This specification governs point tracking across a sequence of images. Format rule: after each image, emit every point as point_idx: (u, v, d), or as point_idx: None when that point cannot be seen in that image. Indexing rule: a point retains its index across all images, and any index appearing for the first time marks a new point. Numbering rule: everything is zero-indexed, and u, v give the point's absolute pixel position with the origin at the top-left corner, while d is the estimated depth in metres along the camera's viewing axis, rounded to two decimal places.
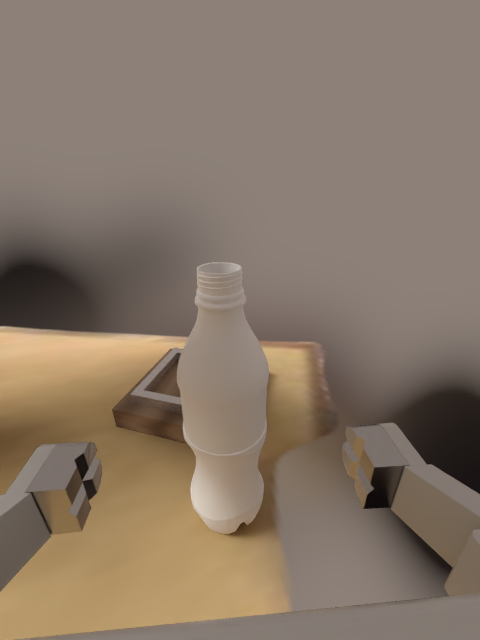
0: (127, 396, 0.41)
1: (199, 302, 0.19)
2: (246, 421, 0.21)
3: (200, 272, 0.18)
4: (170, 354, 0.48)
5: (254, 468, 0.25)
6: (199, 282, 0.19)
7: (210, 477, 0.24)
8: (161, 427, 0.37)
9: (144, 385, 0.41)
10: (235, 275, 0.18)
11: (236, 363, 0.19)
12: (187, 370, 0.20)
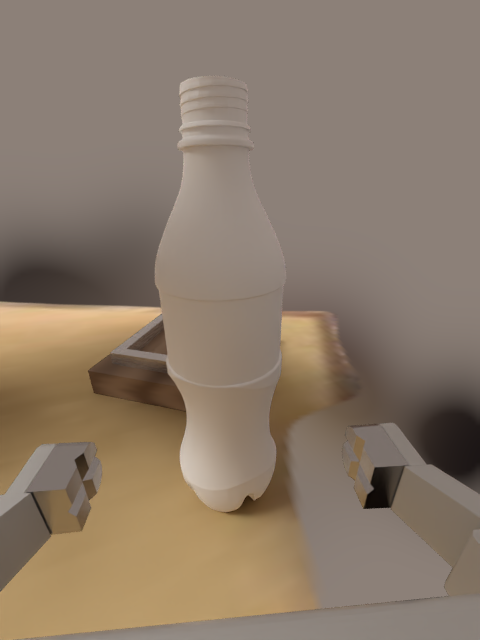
0: (107, 358, 0.34)
1: (183, 139, 0.13)
2: (255, 333, 0.14)
3: (184, 82, 0.12)
4: (161, 316, 0.41)
5: (265, 416, 0.18)
6: (183, 104, 0.12)
7: (204, 428, 0.17)
8: (147, 390, 0.30)
9: (128, 344, 0.34)
10: (238, 85, 0.12)
11: (241, 234, 0.13)
12: (167, 251, 0.14)
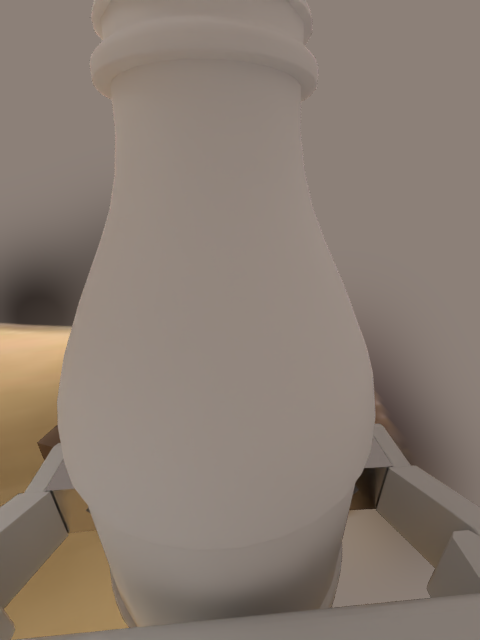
0: None
1: (99, 44, 0.04)
2: (308, 571, 0.06)
3: None
4: None
5: None
6: None
7: None
8: None
9: None
10: None
11: (285, 352, 0.04)
12: (69, 384, 0.05)
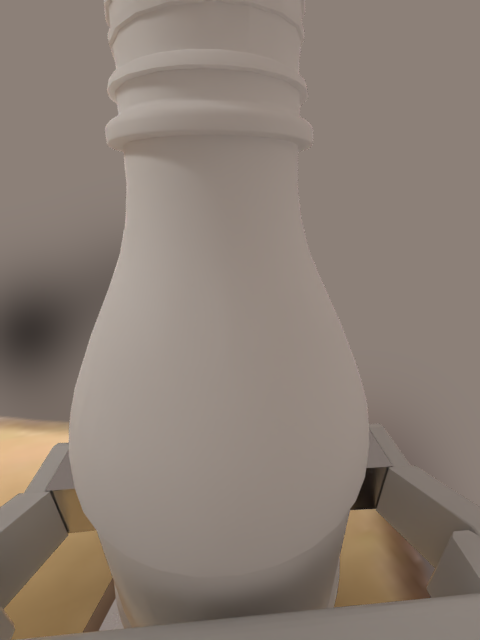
0: (95, 618, 0.23)
1: None
2: (305, 594, 0.06)
3: None
4: None
5: None
6: (109, 7, 0.04)
7: None
8: None
9: None
10: None
11: (282, 394, 0.04)
12: (82, 417, 0.05)
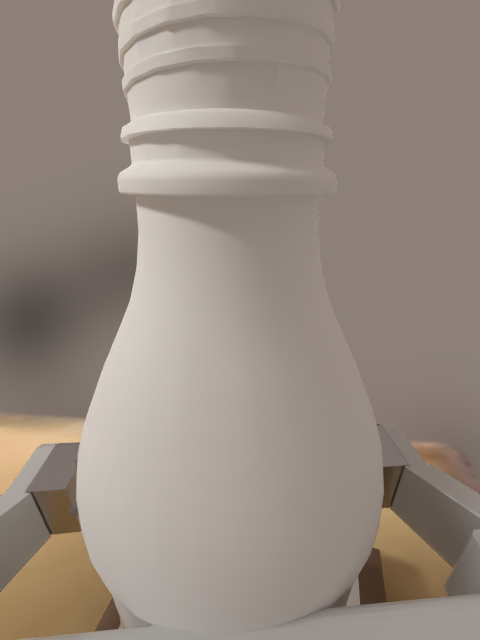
0: None
1: (129, 169, 0.04)
2: None
3: None
4: None
5: None
6: (124, 54, 0.04)
7: None
8: None
9: None
10: None
11: (301, 462, 0.04)
12: (91, 471, 0.05)
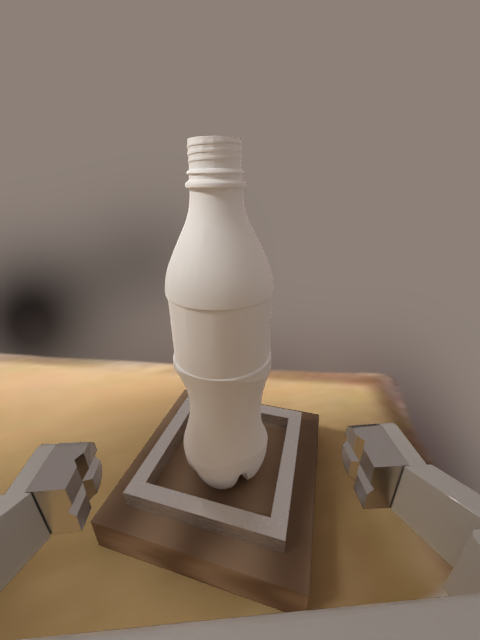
0: (118, 489, 0.24)
1: (190, 181, 0.16)
2: (247, 336, 0.18)
3: (191, 139, 0.15)
4: (186, 404, 0.31)
5: (257, 407, 0.21)
6: (190, 154, 0.16)
7: (204, 415, 0.21)
8: (179, 561, 0.20)
9: (147, 471, 0.24)
10: (233, 142, 0.15)
11: (235, 257, 0.16)
12: (176, 270, 0.17)
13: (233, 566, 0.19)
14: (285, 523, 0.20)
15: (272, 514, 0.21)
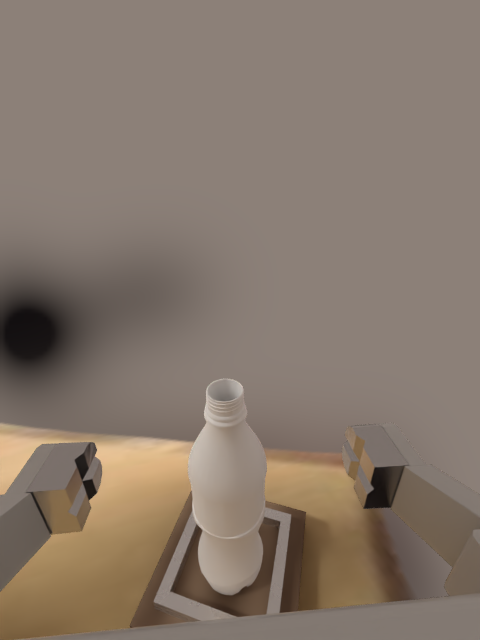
0: (148, 593, 0.31)
1: (208, 418, 0.23)
2: (247, 511, 0.25)
3: (209, 397, 0.22)
4: None
5: (254, 541, 0.29)
6: (208, 403, 0.23)
7: (215, 550, 0.28)
8: None
9: (170, 579, 0.31)
10: (238, 400, 0.22)
11: (239, 469, 0.23)
12: (197, 471, 0.24)
13: None
14: None
15: None
